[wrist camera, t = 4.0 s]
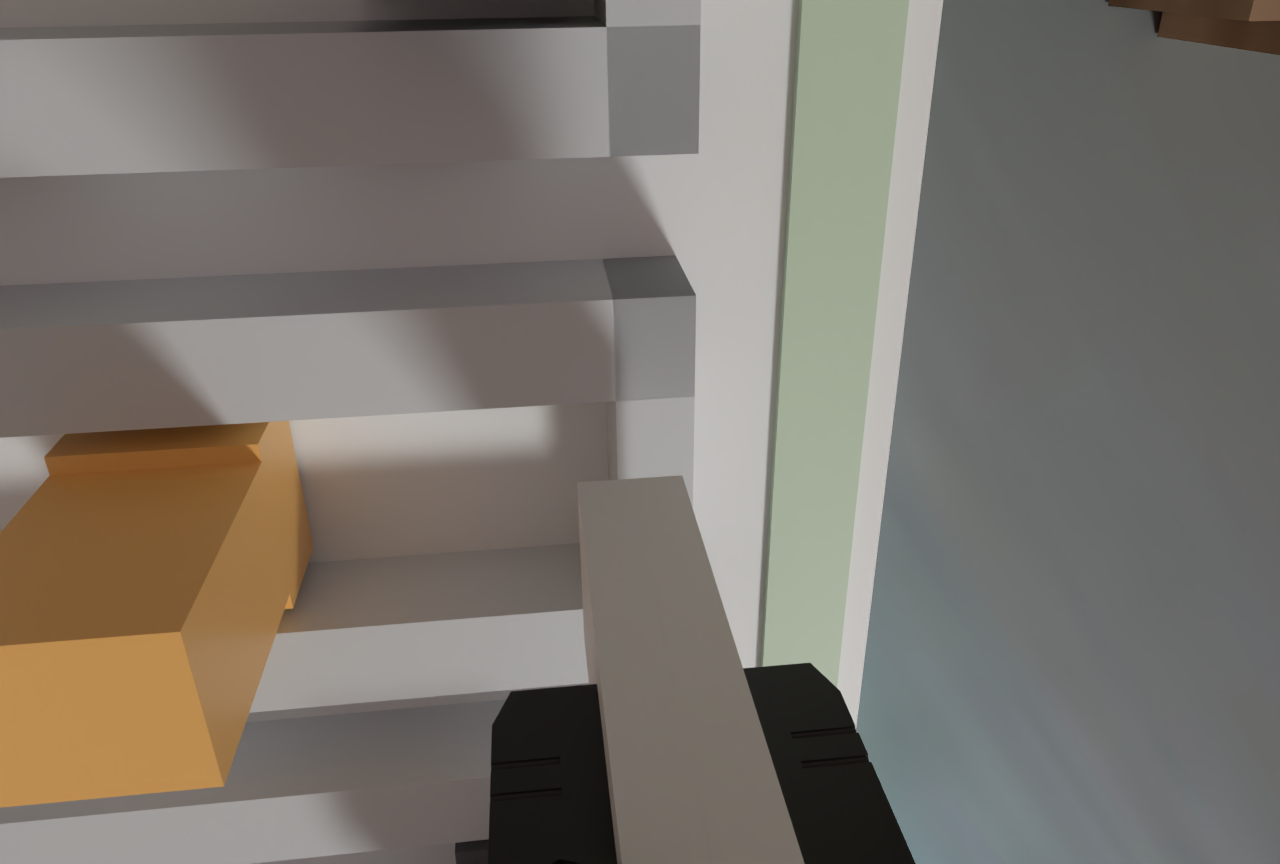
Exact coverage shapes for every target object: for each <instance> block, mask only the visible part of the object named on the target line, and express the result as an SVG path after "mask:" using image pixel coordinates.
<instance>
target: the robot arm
mask: <svg viewBox="0 0 1280 864" xmlns="http://www.w3.org/2000/svg"><path fill="white" fill-rule="evenodd" d="M577 491H578V513H579V535H580V557H581V579H582V601H583V623H584V640H585V650H586V660H587V670H588V679H589V685H578V686H567V687H556V688H544V689H533V690H521V691H511V692H510V694H509V696H508V698H507V699H506V701H505V703H504V705H503V706H502V708H501V710H500V712H499V714H498V715H497V717H496V719H495V721H494V722H493V724H492V739H491V775H490V812H489V849H488V864H915V862H914V859H913V857H912V855H911V852H910V850H909V848H908V846H907V843H906V841H905V839H904V836H903V834H902V832H901V829H900V827H899V825H898V823H897V820H896V818H895V816H894V813H893V811H892V809H891V806H890V804H889V802H888V800H887V797H886V795H885V793H884V790H883V788H882V786H881V783H880V781H879V779H878V777H877V774H876V772H875V770H874V767H873V765H872V763H871V762H869V760H868V754H867V751H866V749H865V747H864V744H863V742H862V740H861V738H860V735H859V733H856V729H855V724H854V721H853V719H852V717H851V715H850V712H849V710H848V708H847V705H846V703H845V701H844V698H843V696H842V694H841V692H840V690H839V689H838V688H837V687H835V686H834V685H833V684H832V683H831V682H830V681H829V680H828V679H827V678H826V677H825V676H824V675H823V674H822V673H821V672H820V671H819V670H818V669H816V668H815V667H814V666H813V665H812V664H811V663H800V664H788V665H777V666H765V667H754V668H743V667H742V664H741V660H740V657H739V654H738V651H737V648H736V644H735V641H734V638H733V635H732V632H731V629H730V625H729V622H728V619H727V616H726V613H725V610H724V606H723V603H722V600H721V597H720V594H719V591H718V587H717V584H716V581H715V578H714V575H713V571H712V568H711V565H710V562H709V559H708V556H707V552H706V549H705V546H704V543H703V540H702V537H701V533H700V530H699V527H698V524H697V521H696V518H695V514H694V511H693V508H692V505H691V502H690V498H689V495H688V492H687V489H686V486H685V483H684V479H683V476H682V475H680V476H665V477H650V478H635V479H620V480H605V481H590V482H577Z"/></svg>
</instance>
